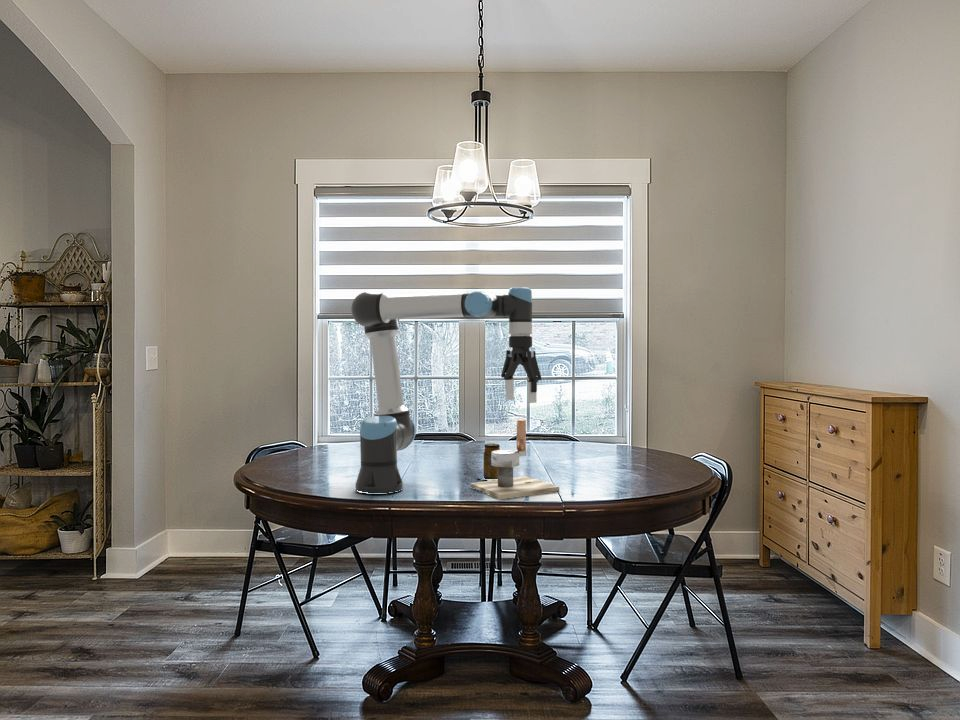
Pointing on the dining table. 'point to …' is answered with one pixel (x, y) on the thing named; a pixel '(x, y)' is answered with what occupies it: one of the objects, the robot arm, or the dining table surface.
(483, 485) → the post base
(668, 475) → the dining table surface
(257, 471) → the dining table surface
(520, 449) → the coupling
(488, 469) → the condiment
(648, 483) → the dining table surface
